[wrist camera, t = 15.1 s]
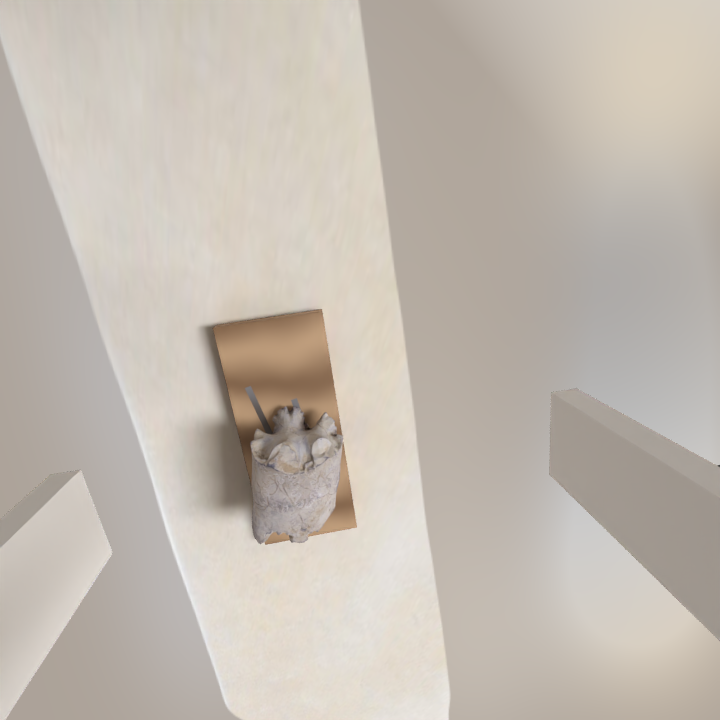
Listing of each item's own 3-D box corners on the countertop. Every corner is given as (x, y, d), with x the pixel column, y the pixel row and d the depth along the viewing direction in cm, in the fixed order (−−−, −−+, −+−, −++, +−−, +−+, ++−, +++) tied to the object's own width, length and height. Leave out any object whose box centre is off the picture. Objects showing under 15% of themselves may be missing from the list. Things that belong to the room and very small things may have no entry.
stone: (256, 510, 41) (246, 560, 35) (257, 404, 38) (247, 436, 32) (333, 510, 42) (337, 558, 36) (340, 406, 39) (346, 438, 33)
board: (216, 324, 37) (212, 328, 36) (321, 309, 38) (322, 311, 37) (267, 535, 44) (265, 544, 43) (355, 518, 45) (356, 527, 43)
